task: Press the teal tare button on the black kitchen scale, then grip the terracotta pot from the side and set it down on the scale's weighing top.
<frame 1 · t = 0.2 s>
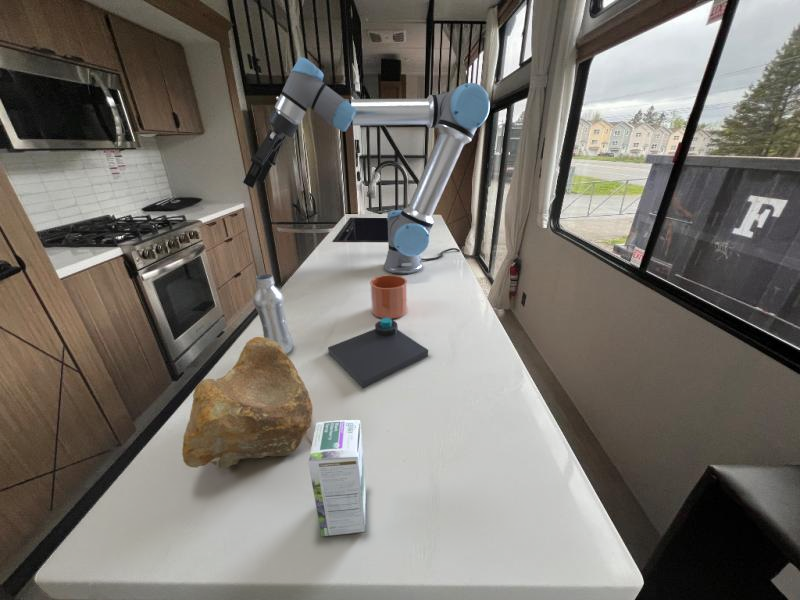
hand: (253, 182, 98), 36 cm above the table, tool tilted 35°, fingers open, 13 cm apart
scale: (377, 355, 78), on the table
rough brown rock: (270, 435, 57), on the table
tare button: (386, 323, 83), point 4 cm above the table, slide at 0.1 cm
syrup box: (346, 513, 45), on the table
silver water bottle: (280, 353, 80), on the table
terracotta pot: (389, 312, 97), on the table
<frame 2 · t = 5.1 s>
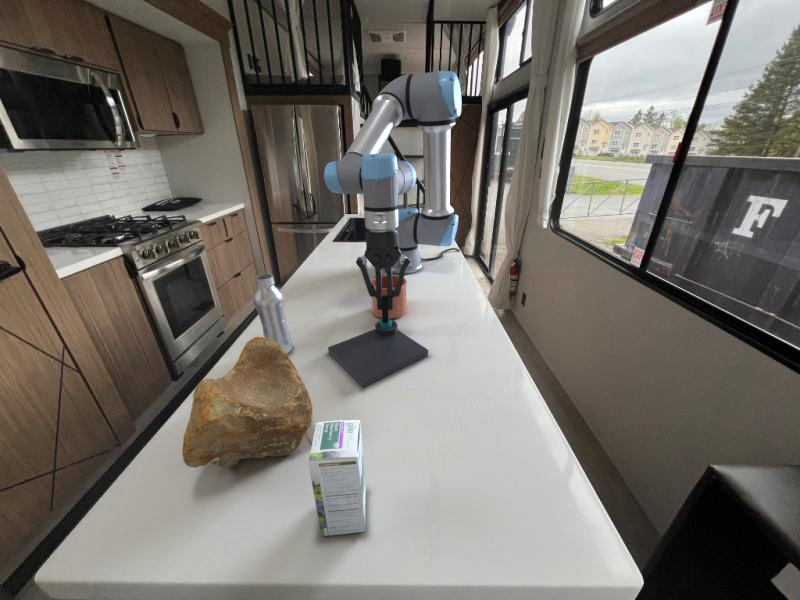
hand: (385, 320, 83), 5 cm above the table, tool pointing down, fingers closed
tare button: (386, 323, 83), point 4 cm above the table, slide at -0.1 cm, touching gripper
everything else where it was.
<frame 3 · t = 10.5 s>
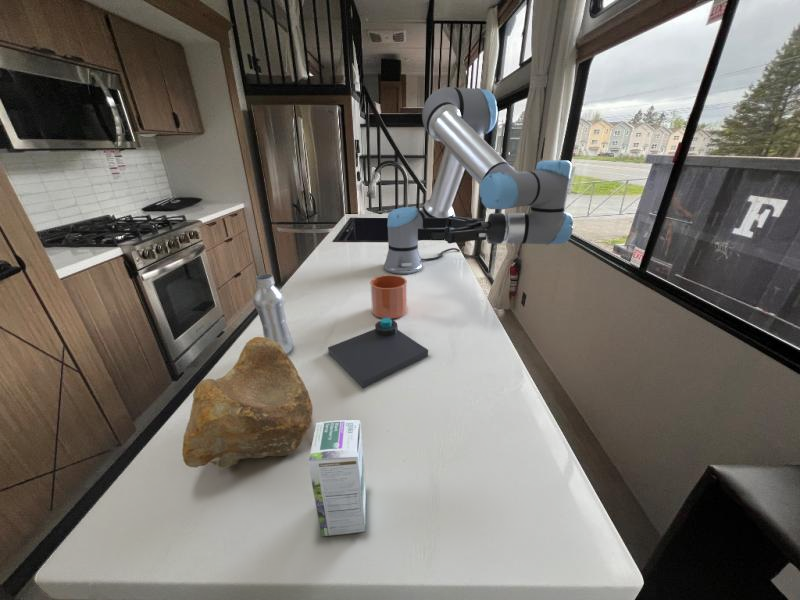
hand: (420, 228, 85), 26 cm above the table, tool horizontal, fingers open, 13 cm apart
tare button: (386, 323, 83), point 4 cm above the table, slide at 0.1 cm
everything else where it was.
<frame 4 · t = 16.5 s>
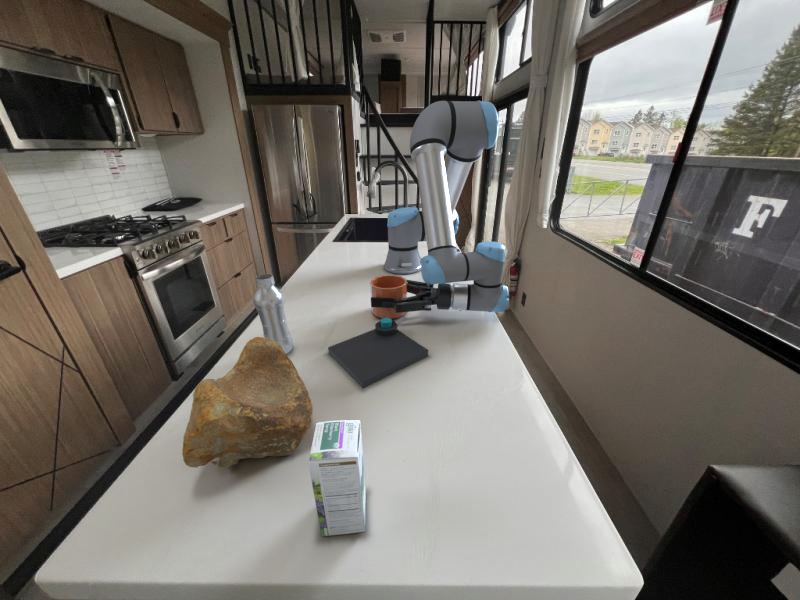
hand: (375, 293, 95), 6 cm above the table, tool horizontal, fingers closed on terracotta pot, 10 cm apart
terracotta pot: (389, 312, 97), on the table, touching gripper
everything else where it was.
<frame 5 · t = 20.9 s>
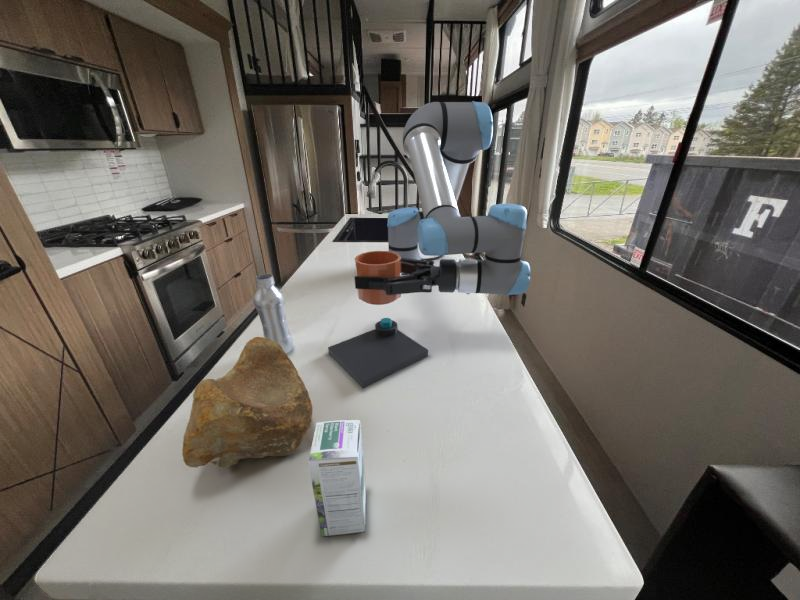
hand: (361, 273, 76), 18 cm above the table, tool horizontal, fingers closed on terracotta pot, 10 cm apart
terracotta pot: (379, 297, 78), point 12 cm above the table, touching gripper
everything else where it was.
when the fingers open (8 cm above the table, at t = 25.6 s): terracotta pot stays where it is, resting on scale.
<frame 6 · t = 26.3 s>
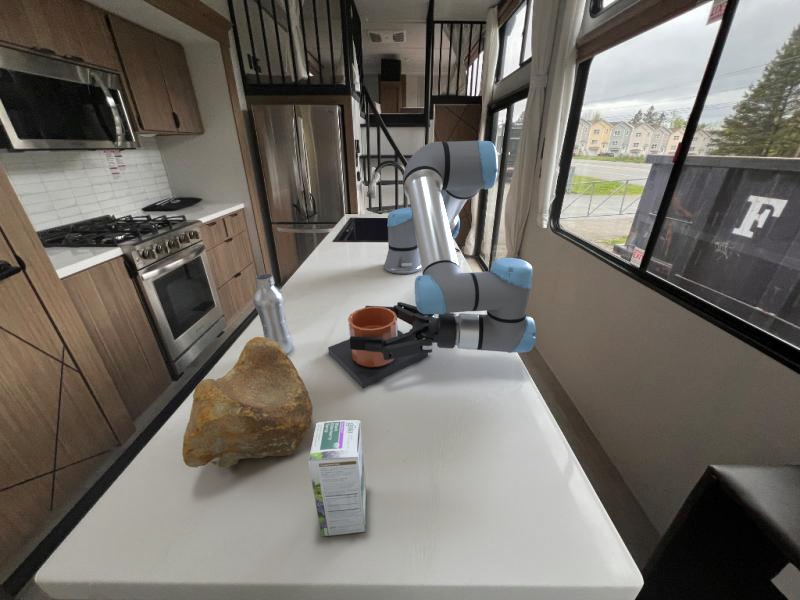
hand: (358, 325, 71), 10 cm above the table, tool horizontal, fingers open, 13 cm apart
terracotta pot: (375, 355, 74), point 2 cm above the table, touching scale
everything else where it was.
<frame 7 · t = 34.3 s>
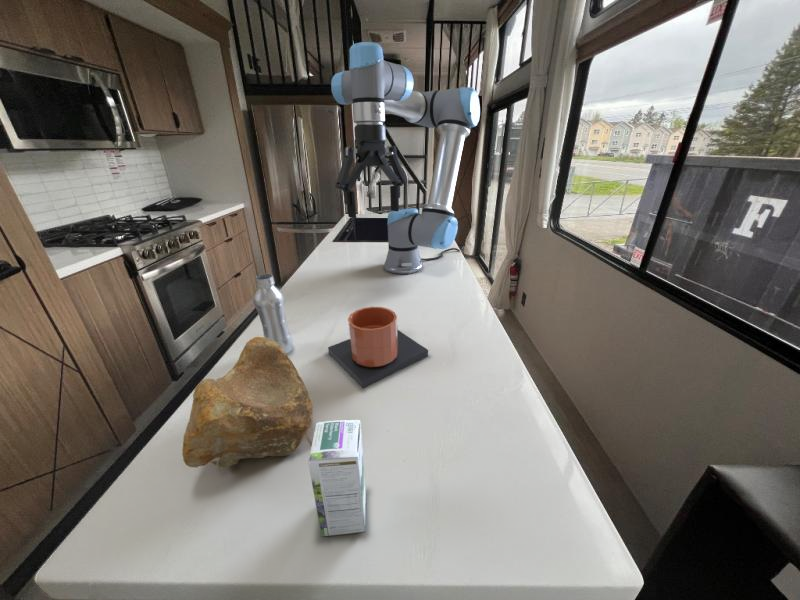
hand: (374, 214, 87), 29 cm above the table, tool pointing down, fingers open, 13 cm apart
nothing on the table moved.
at the end: tare button pushed in 0.8 cm at the most during the clip, back to where it started at the end; terracotta pot inside the target area on the scale (1.4 cm from its centre), point 1.9 cm above the scale's base; terracotta pot tilted 0° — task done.
